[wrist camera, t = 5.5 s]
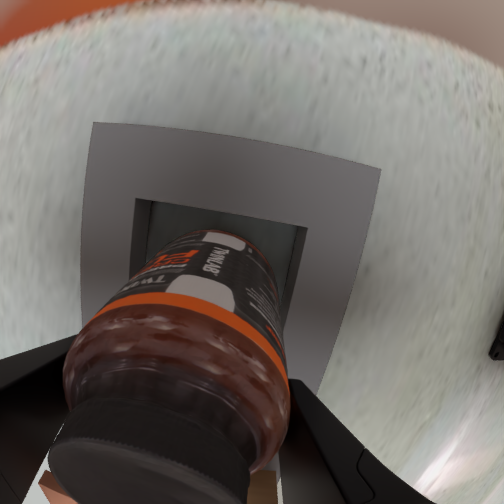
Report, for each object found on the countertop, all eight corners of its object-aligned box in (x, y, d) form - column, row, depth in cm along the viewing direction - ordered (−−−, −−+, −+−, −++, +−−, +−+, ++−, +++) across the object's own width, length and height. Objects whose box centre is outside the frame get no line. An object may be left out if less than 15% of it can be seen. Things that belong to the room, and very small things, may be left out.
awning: (299, 436, 17) (313, 540, 10) (274, 488, 19) (278, 572, 11) (89, 395, 16) (37, 482, 9) (101, 455, 18) (68, 530, 11)
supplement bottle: (204, 198, 14) (51, 310, 3) (302, 284, 15) (376, 503, 4) (130, 291, 15) (-10, 459, 4) (221, 362, 16) (188, 568, 5)
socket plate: (363, 168, 15) (381, 169, 13) (273, 464, 21) (274, 488, 19) (114, 126, 15) (93, 122, 12) (111, 433, 21) (101, 455, 18)
